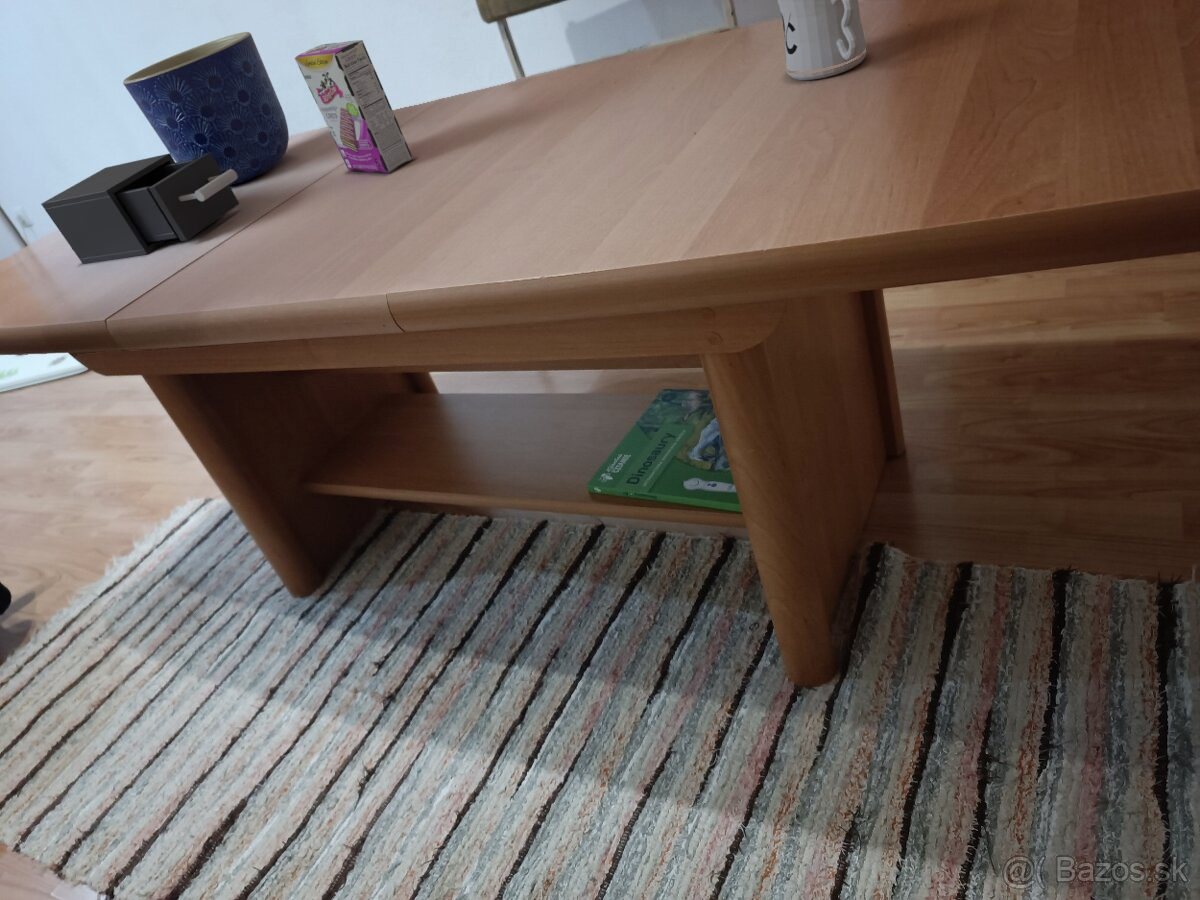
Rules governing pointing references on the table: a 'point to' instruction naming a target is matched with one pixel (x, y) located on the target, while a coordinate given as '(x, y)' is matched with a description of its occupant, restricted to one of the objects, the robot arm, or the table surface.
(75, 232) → the cabinet
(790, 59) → the mug
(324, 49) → the candy bar box
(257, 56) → the planter
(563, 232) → the table surface
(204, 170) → the drawer
